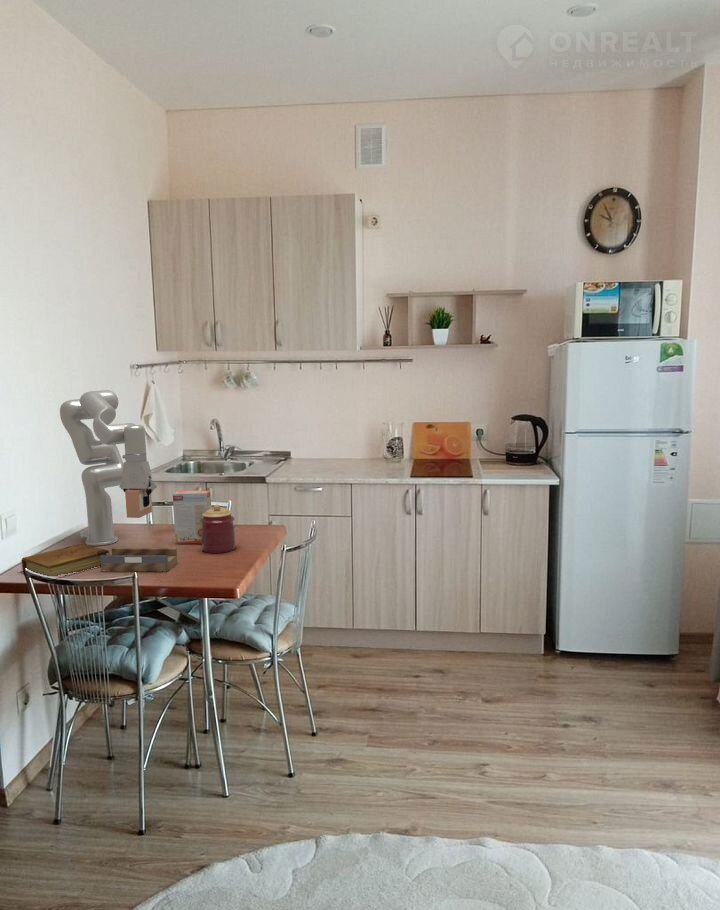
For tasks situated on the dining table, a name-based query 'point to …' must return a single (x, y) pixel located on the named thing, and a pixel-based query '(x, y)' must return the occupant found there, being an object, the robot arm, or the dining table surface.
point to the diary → (64, 560)
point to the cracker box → (190, 515)
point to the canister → (218, 530)
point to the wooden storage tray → (139, 559)
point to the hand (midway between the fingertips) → (139, 505)
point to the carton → (136, 503)
